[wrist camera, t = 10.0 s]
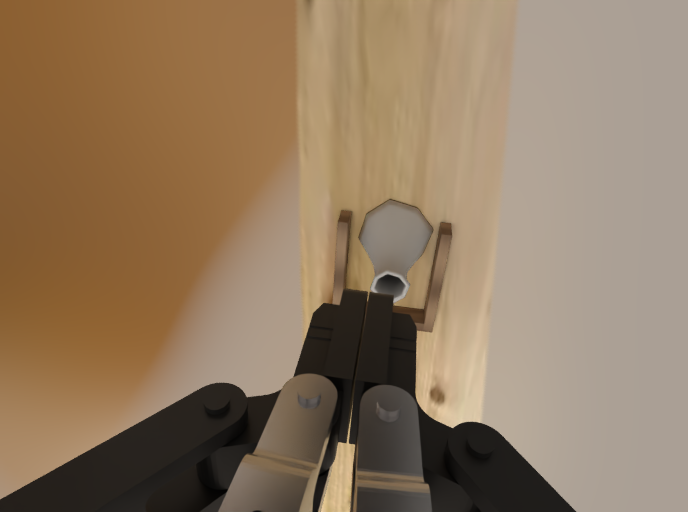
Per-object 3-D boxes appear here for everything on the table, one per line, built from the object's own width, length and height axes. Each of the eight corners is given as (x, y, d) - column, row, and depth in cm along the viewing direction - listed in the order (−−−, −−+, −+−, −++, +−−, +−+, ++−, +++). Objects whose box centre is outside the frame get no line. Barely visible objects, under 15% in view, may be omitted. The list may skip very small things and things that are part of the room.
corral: (341, 210, 49) (337, 221, 47) (450, 223, 48) (452, 235, 46) (335, 304, 56) (331, 318, 53) (431, 318, 55) (432, 332, 53)
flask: (388, 186, 47) (380, 235, 39) (446, 227, 49) (451, 282, 40) (346, 237, 51) (331, 292, 42) (402, 274, 52) (398, 334, 44)
